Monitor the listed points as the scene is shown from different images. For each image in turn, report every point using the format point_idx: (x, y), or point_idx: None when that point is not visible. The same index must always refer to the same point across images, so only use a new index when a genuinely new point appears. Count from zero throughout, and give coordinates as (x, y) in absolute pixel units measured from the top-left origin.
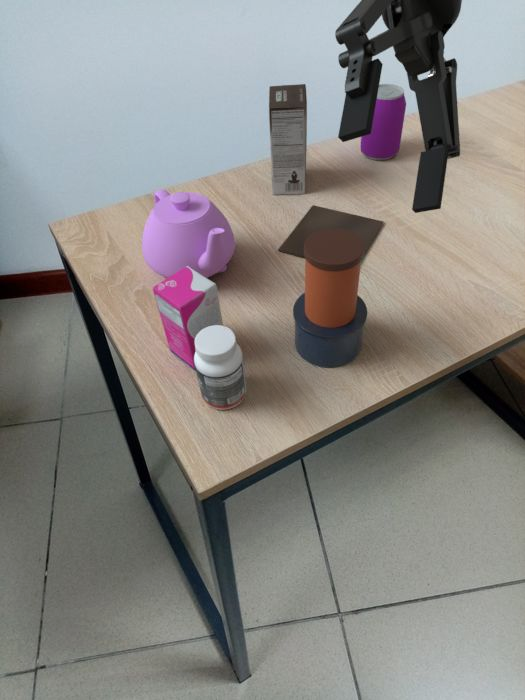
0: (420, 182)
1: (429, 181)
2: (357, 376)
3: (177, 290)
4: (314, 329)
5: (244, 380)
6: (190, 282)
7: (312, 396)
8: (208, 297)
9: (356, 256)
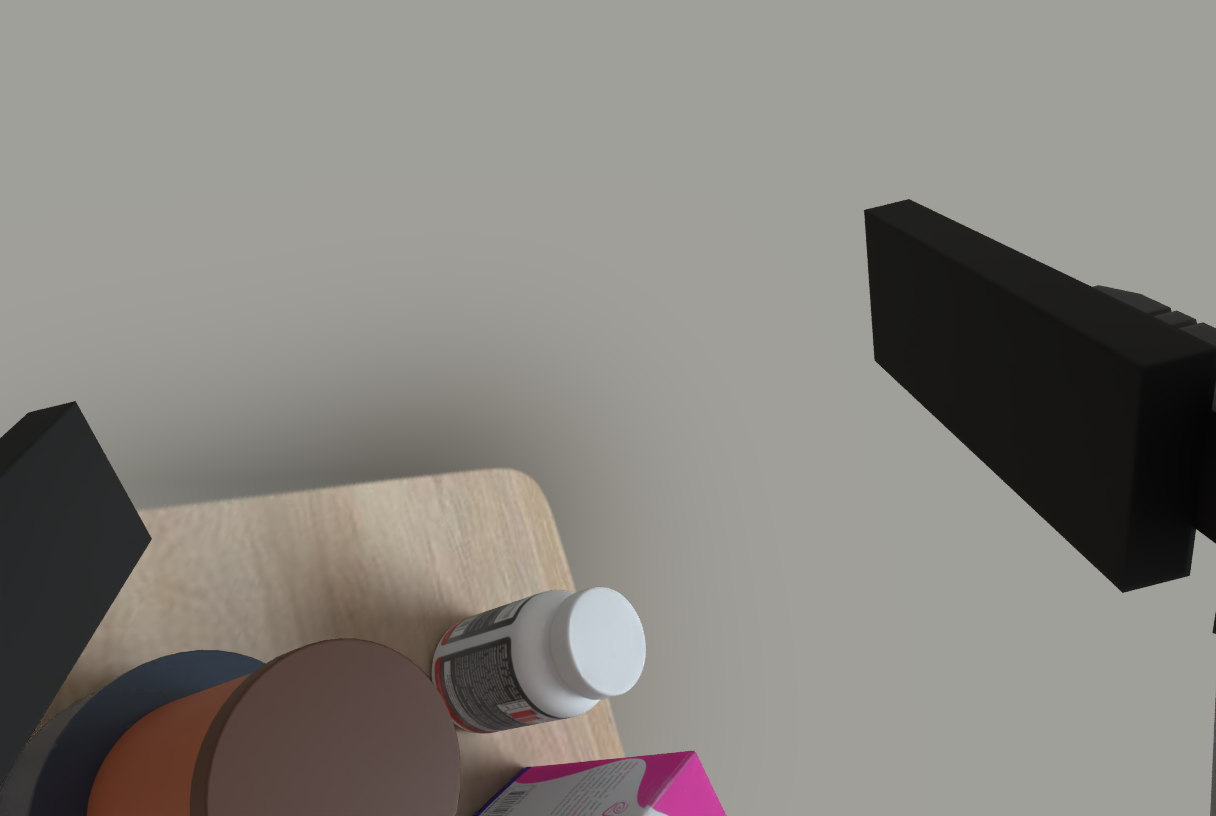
0: (61, 631)
1: (29, 570)
2: (109, 622)
3: None
4: None
5: (465, 641)
6: None
7: (275, 594)
8: (623, 812)
9: (285, 669)
